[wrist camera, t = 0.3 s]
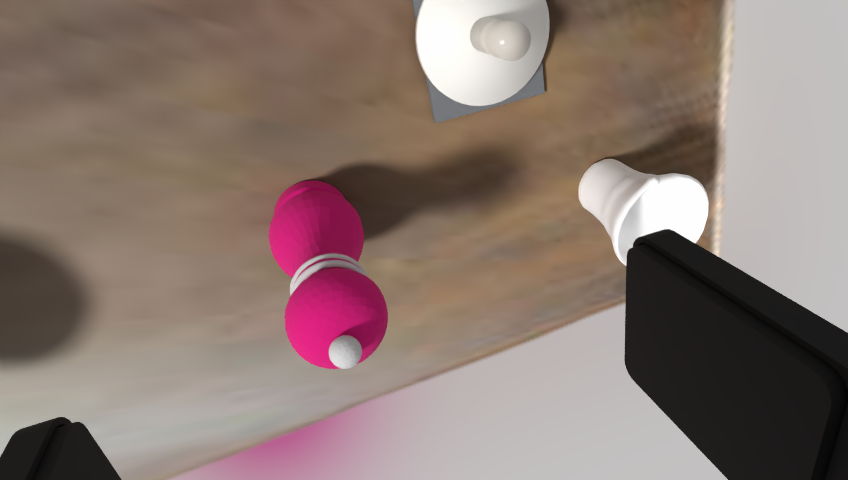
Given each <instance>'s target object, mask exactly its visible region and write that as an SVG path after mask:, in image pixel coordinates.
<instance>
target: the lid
mask: <svg viewBox="0 0 848 480" xmlns="http://www.w3.org/2000/svg"><path fill="white" fill-rule="evenodd" d="M548 38H549V12H548V6H547V2H546V0H422V2H421V5H420V8H419V11H418V15H417V19H416V26H415V44H416V51H417V55H418V59H419V62H420V65H421V67H422V69H423V71H424V73H425V75H426V77H427V78H428V79H429V81H430V82H431V83H432V84H433V85H434V86H435V87H436V88H437V90H439V91H440V92H441V93H443V94H444V95H445V96H447V97H449V98H451V99H452V100H454V101H457V102H459V103H462V104H466V105H471V106H486V105H491V104H495V103H498V102H501V101H503V100H505V99H507V98H509V97H511V96H512V95H514V94H515V93H517V92H518V91H519V90H520V89H522V88H523V87H524V86H525V85H526V84H527V83H528V81H529V80H530V79H531V78H532V76H533V75H534V74H535V72H536V70H537V69H538V67H539V65H540V63H541V61H542V59H543V56H544V53H545V50H546V47H547V43H548Z"/></svg>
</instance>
